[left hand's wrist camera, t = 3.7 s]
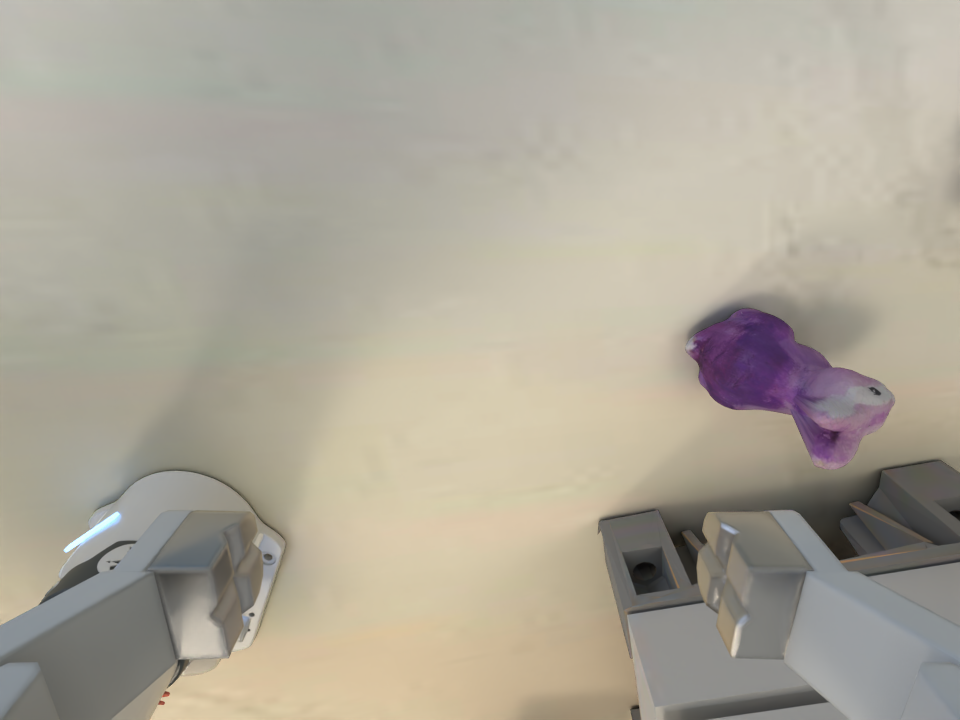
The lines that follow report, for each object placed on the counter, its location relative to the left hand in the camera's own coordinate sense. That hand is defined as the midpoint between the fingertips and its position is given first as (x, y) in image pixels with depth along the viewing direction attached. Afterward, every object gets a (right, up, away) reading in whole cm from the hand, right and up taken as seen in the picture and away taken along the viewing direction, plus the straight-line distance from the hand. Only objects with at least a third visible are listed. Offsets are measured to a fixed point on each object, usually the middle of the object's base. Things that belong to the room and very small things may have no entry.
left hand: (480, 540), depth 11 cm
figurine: (+24, +4, +40) cm, 47 cm away
